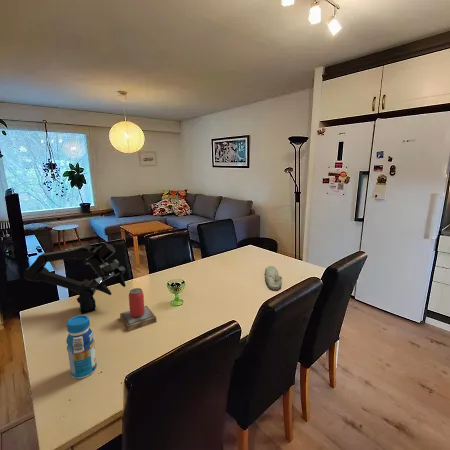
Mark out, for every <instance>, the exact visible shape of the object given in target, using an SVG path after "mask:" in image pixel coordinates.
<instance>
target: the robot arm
mask: <svg viewBox="0 0 450 450" xmlns="http://www.w3.org/2000/svg"><path fill="white" fill-rule="evenodd" d="M114 253H116V249H115V247H114V246H113V245H112V244H110V243H107V242H104V243H102V245H101V246H99V247H96V246H91V245H90V244H87V243H84V244H82V245H79V246H77V247H74V248H70V249H66V250H65V249H64V250H58V251H53V252H52V251H51V252H43V253H41V254H39V255H38V256H37V258H36V259H35V260H34V262H32V264H31V265H30V266H29V267H28V268H26V269H24V271H23V277H24V279H25V280H27V281H32V282H46V283H49V284H52V285H55V286H57V287H62V288H64V289H68V290H71V291H74V292H75V293H76V294H77V295H78V296H77V298H76V302H77V303H78V305H79V308H78V309H79V312H80V315H84V314H87V313H91V312H95V311H96V310H97V309H96V306H97V305H96V299H95V298H94V295H95V293H97V291H100V292H101V293H102V292H103V293H104V294H107V295H108V296H111V295H112V292H111V290H110V289H109V287H108V286H107V285H106V282H105V281H106V280H108V279H110V278H112V277H113V278H114V280H115V281H116V282H118V283H119V285H121V286H122V287H123V288H125V287H126V286H127V285H126V282H125V279H124V273H125V271H126V268H125V266H123V265H120V261H119V260H118V259H114V260H111V262H110V263H108V262H105V261H104V260H108V259H109V258H110V257H111V256H112V255H114ZM68 259H69V260H70V259H74V260H84V262H83V265H84V266H85V265H90V267H91V268H92V269H93V274H97V276H96V277H94V278H92V279H91V280H90V279H86V278H85V279H84V280H83V281H79V280H77V279H74V278H73V279H72V278H70V277H66V276H63V275H61V274H57V273H54V272H51V271H50V270H49V269H48V268H47V267H46V265H47V263H49V262H55V261H63V260H68Z"/></svg>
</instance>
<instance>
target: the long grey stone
mask: <svg viewBox="0 0 450 450" xmlns="http://www.w3.org/2000/svg"><path fill="white" fill-rule="evenodd" d="M264 275H265V281H266V283H267V286H268V288H269V289H271V290H280V288H282V285H283V282H282V280H283V278H282V276H280V275H279V272H278V270H277V268H276V267H275V266H271V265H268V266H267V267H266V268H265V272H264Z"/></svg>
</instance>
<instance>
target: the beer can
mask: <svg viewBox="0 0 450 450" xmlns="http://www.w3.org/2000/svg"><path fill="white" fill-rule="evenodd" d="M144 297H145V296H144V292H143V289H142V288H139V287H138V288H132V289H130V290H129V293H128V305H129V311H130V315H131V316H132V317H140V316H142V315H143V314H144V313H145V310H144V306H145V298H144Z"/></svg>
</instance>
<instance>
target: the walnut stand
mask: <svg viewBox="0 0 450 450" xmlns="http://www.w3.org/2000/svg"><path fill="white" fill-rule="evenodd" d="M144 310H145V313H144V314H143V315H142V316H140V317H132V316H131V315H130V310H127V311H124V312H120V313H119V318H120V320H121V322H122V323H123V325H124V327H125V329H126V331H127V332H130V331H134V330H136V329H140V328H142V327H146V326H149V325H151V324H155V323H157V316H156V315H155V314H154V313H153V311H151V308H149V307H148V305H144Z"/></svg>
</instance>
